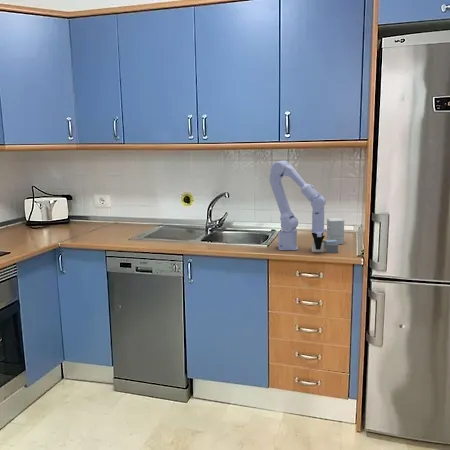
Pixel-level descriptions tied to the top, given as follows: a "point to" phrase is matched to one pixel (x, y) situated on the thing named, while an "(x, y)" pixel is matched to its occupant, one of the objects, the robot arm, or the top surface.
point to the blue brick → (329, 242)
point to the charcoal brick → (331, 248)
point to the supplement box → (335, 230)
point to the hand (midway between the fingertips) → (317, 248)
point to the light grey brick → (317, 249)
